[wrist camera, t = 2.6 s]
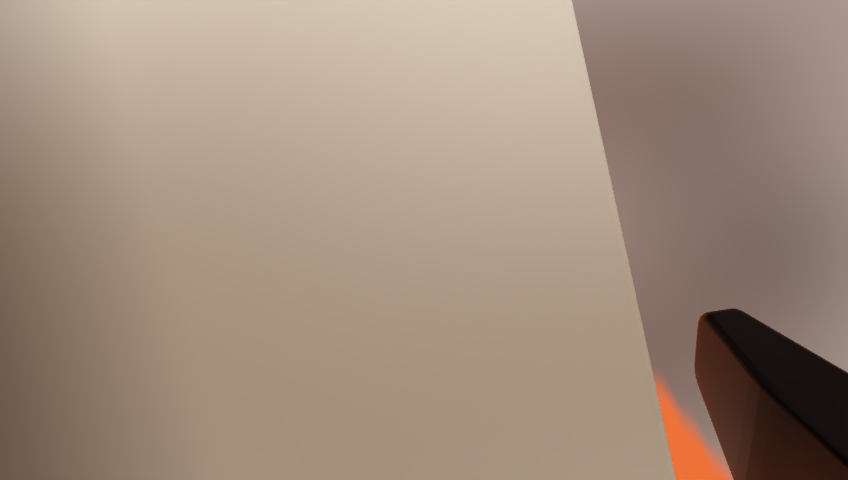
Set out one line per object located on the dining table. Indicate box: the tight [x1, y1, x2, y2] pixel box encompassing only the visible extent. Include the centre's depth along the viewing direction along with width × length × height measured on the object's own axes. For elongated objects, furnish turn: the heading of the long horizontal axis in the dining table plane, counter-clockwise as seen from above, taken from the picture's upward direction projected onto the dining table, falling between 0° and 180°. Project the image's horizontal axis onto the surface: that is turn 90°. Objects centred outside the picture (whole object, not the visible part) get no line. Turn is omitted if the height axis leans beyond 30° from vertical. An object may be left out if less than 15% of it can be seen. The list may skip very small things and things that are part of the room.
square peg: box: [0, 0, 676, 480], centre depth 10 cm, size 5×5×14 cm
